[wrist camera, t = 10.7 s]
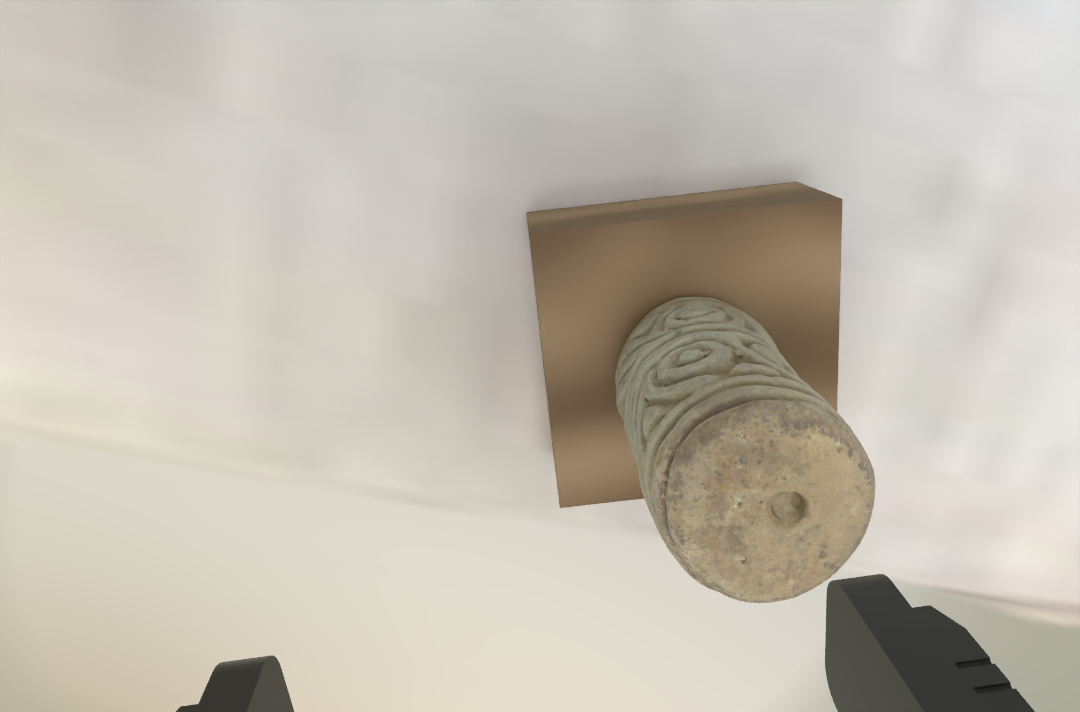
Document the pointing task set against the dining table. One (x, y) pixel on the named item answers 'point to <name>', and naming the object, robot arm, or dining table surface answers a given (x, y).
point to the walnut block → (660, 276)
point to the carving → (739, 454)
